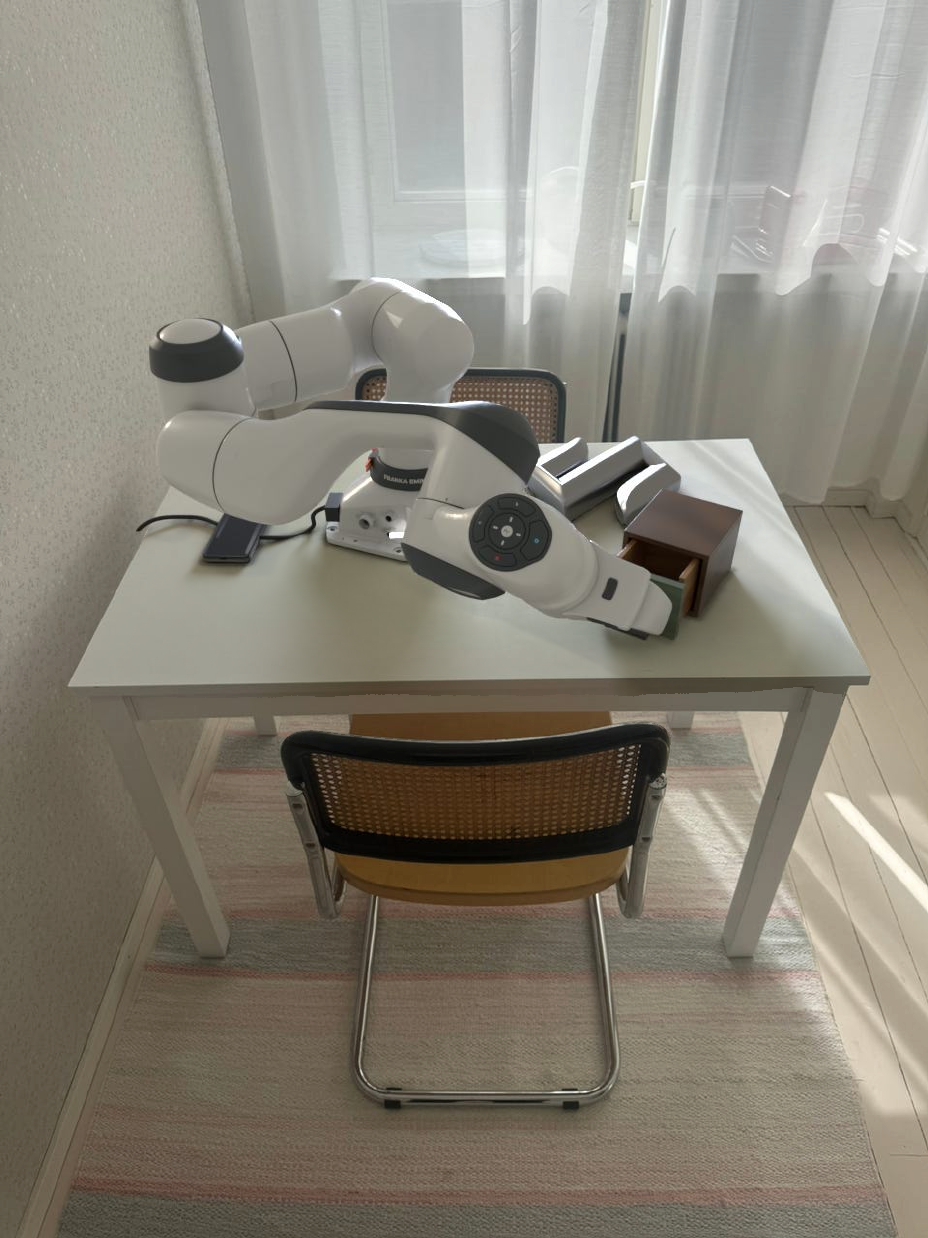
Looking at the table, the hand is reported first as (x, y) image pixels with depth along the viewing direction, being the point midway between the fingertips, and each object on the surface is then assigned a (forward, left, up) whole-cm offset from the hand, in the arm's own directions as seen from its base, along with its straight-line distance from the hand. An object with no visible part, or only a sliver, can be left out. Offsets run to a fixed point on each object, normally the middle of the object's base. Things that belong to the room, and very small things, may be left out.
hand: (595, 601), depth 98 cm
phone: (-61, +26, -15) cm, 68 cm away
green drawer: (+7, +18, -14) cm, 24 cm away
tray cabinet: (+10, +28, -15) cm, 34 cm away
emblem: (-4, +54, -15) cm, 56 cm away
